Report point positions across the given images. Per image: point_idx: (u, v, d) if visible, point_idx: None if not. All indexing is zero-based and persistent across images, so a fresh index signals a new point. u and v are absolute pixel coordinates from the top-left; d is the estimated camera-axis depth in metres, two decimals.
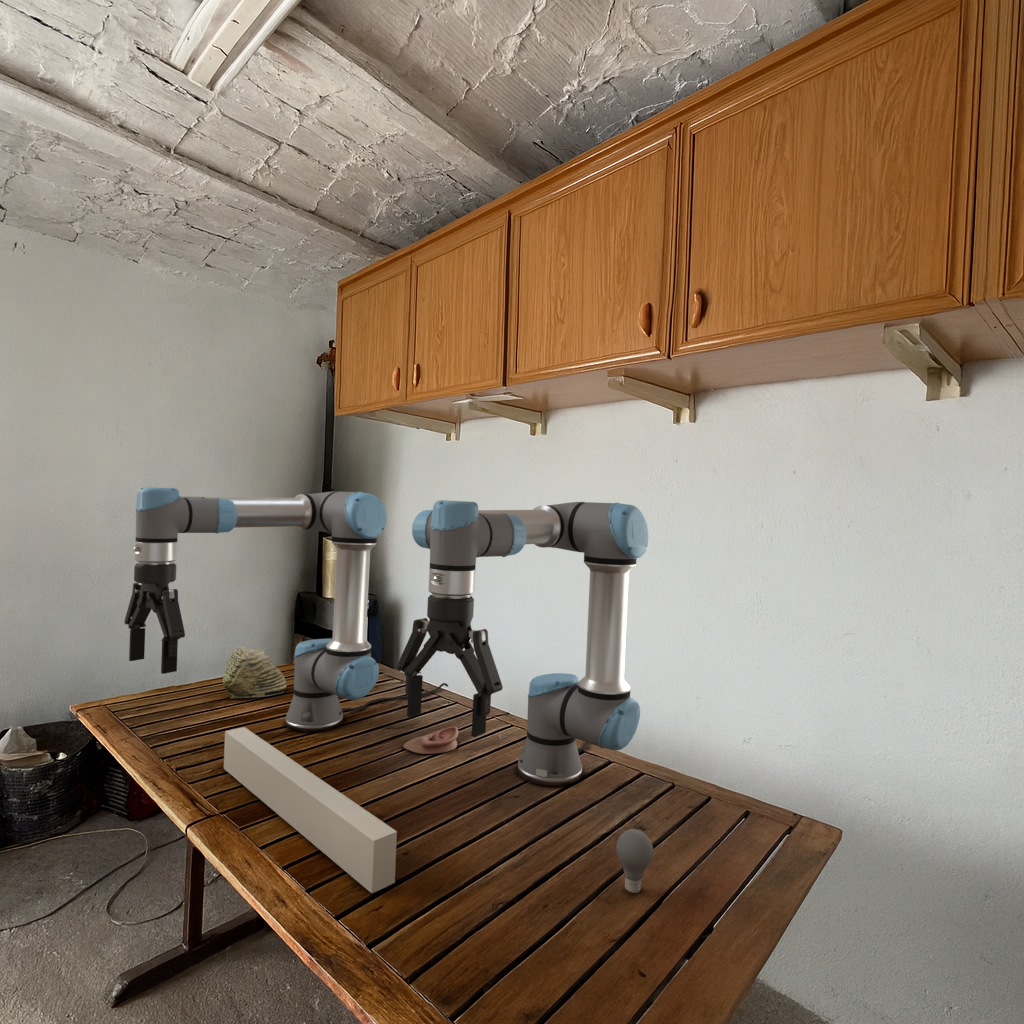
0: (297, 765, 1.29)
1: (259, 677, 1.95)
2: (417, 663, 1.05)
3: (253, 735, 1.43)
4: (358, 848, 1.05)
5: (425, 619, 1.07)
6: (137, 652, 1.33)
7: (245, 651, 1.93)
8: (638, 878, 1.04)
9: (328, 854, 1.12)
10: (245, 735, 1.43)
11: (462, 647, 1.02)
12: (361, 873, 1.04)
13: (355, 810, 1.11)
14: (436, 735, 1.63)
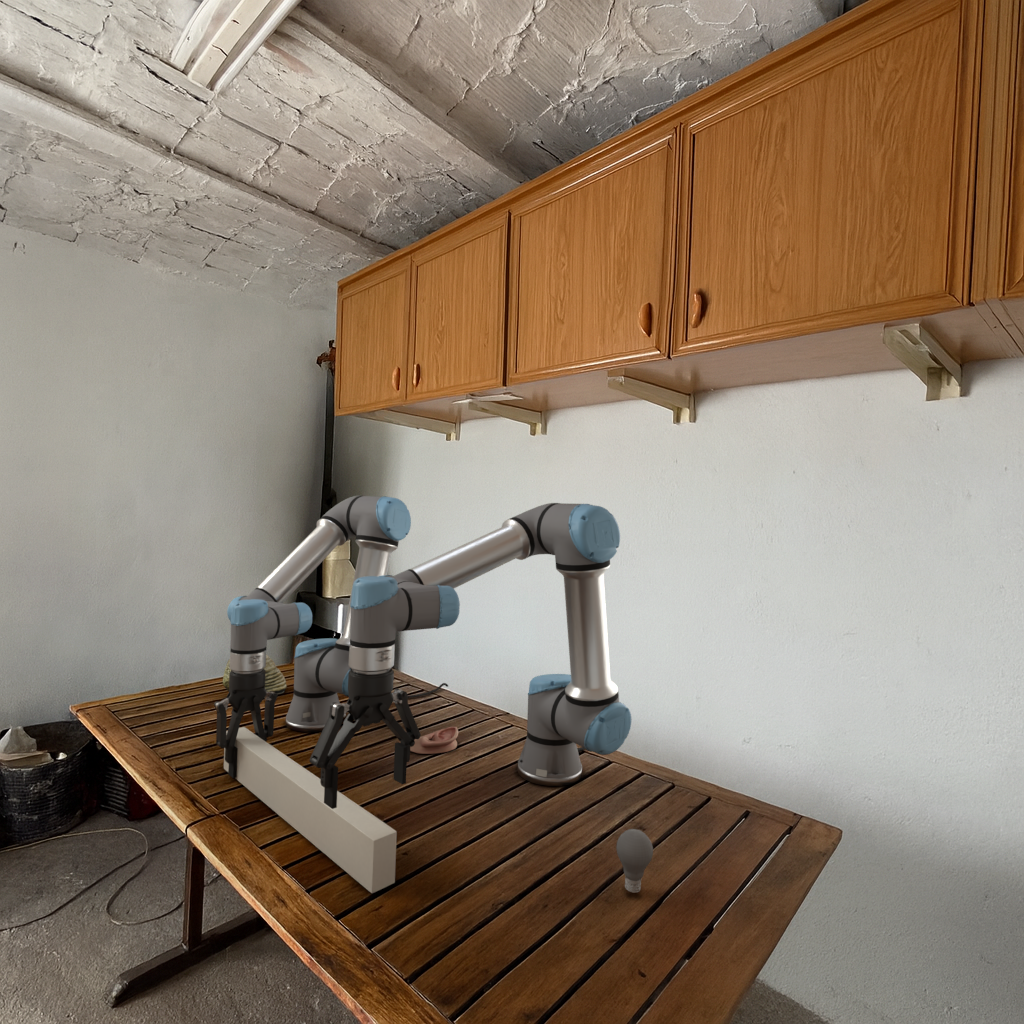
0: (297, 765, 1.29)
1: None
2: (343, 749, 1.03)
3: (253, 735, 1.43)
4: (358, 848, 1.05)
5: (337, 703, 1.04)
6: None
7: None
8: (638, 878, 1.04)
9: (328, 854, 1.12)
10: (245, 735, 1.43)
11: None
12: (361, 873, 1.04)
13: (355, 810, 1.11)
14: (436, 735, 1.63)
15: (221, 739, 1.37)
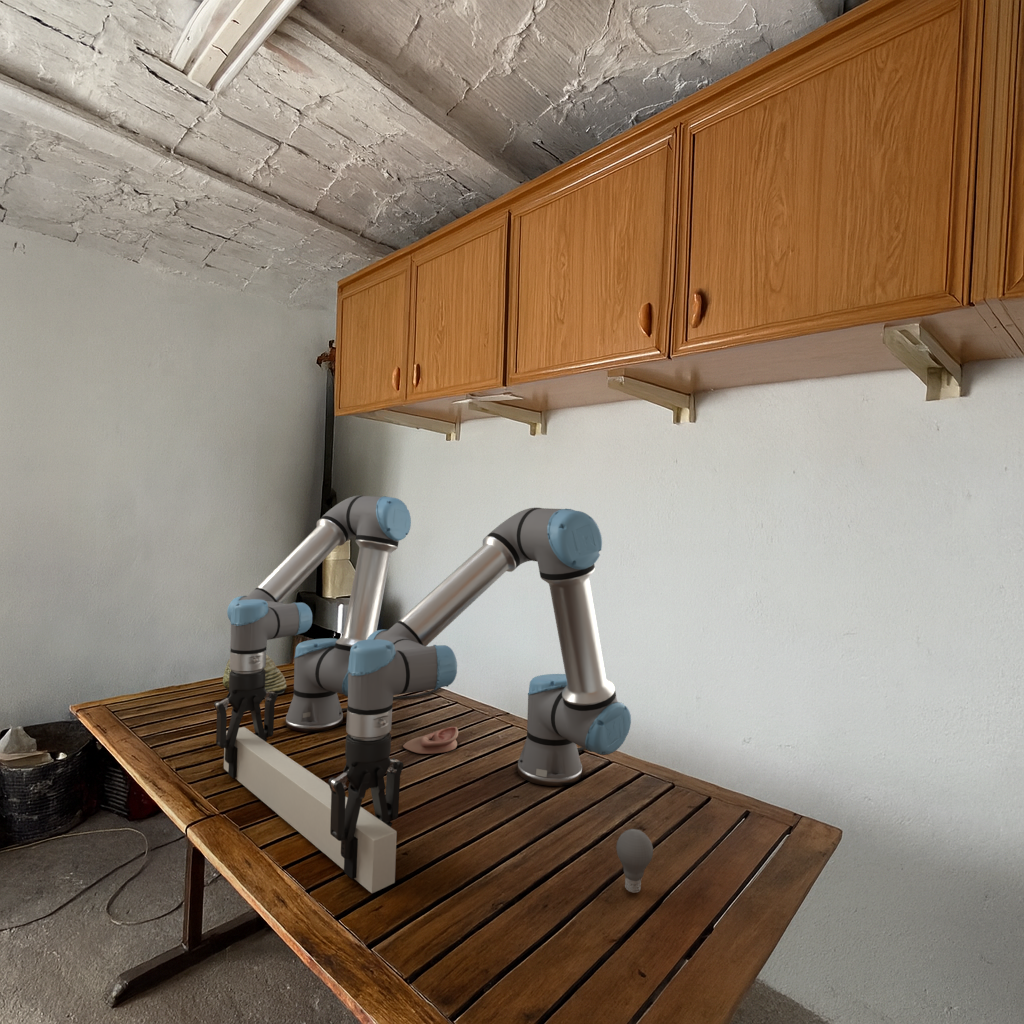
0: (297, 765, 1.29)
1: None
2: (356, 818, 1.05)
3: (253, 735, 1.43)
4: (358, 848, 1.05)
5: (333, 778, 1.04)
6: None
7: None
8: (638, 878, 1.04)
9: (328, 854, 1.12)
10: (245, 735, 1.43)
11: None
12: (361, 873, 1.04)
13: None
14: (436, 735, 1.63)
15: (221, 739, 1.37)
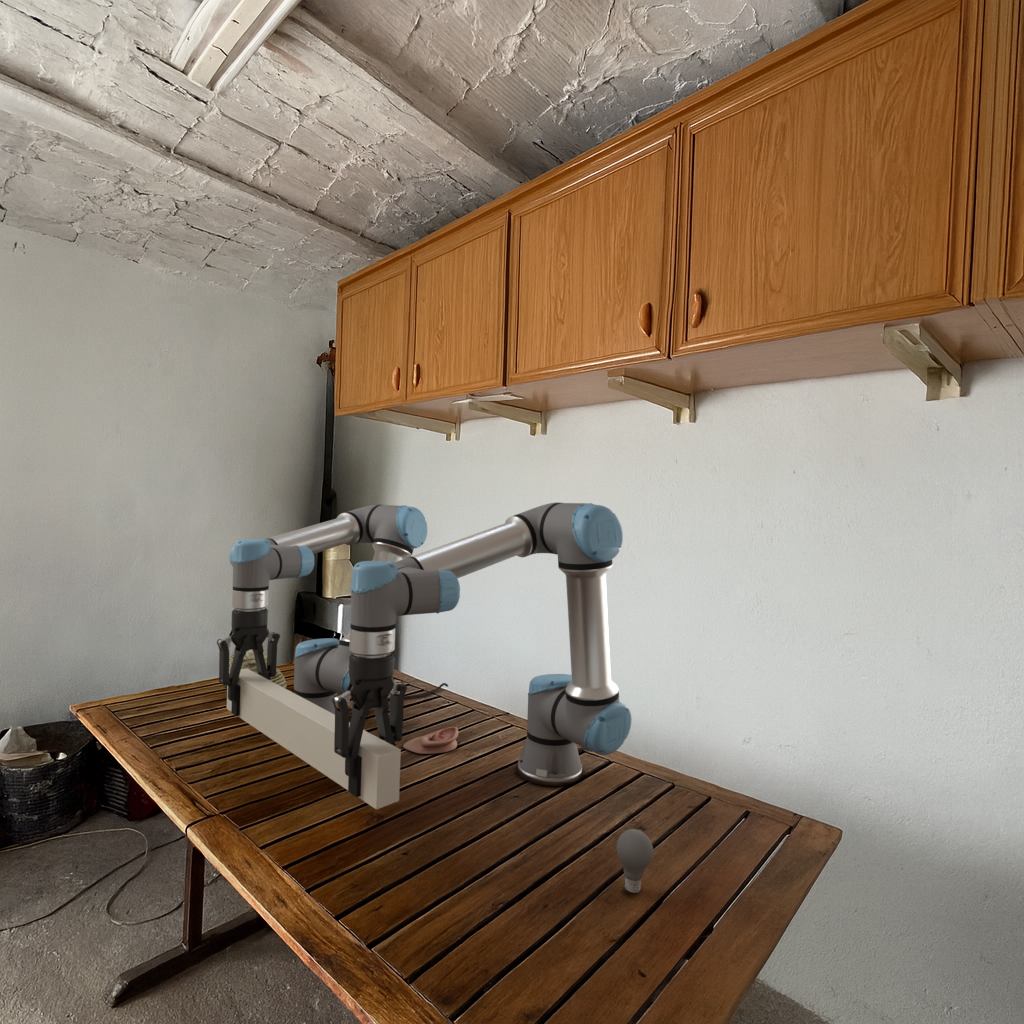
0: (300, 698, 1.28)
1: None
2: (360, 736, 1.05)
3: (256, 674, 1.43)
4: (362, 766, 1.05)
5: (337, 695, 1.04)
6: None
7: None
8: (638, 878, 1.04)
9: (332, 777, 1.12)
10: (248, 674, 1.43)
11: None
12: (365, 791, 1.04)
13: None
14: (436, 735, 1.63)
15: (224, 676, 1.37)
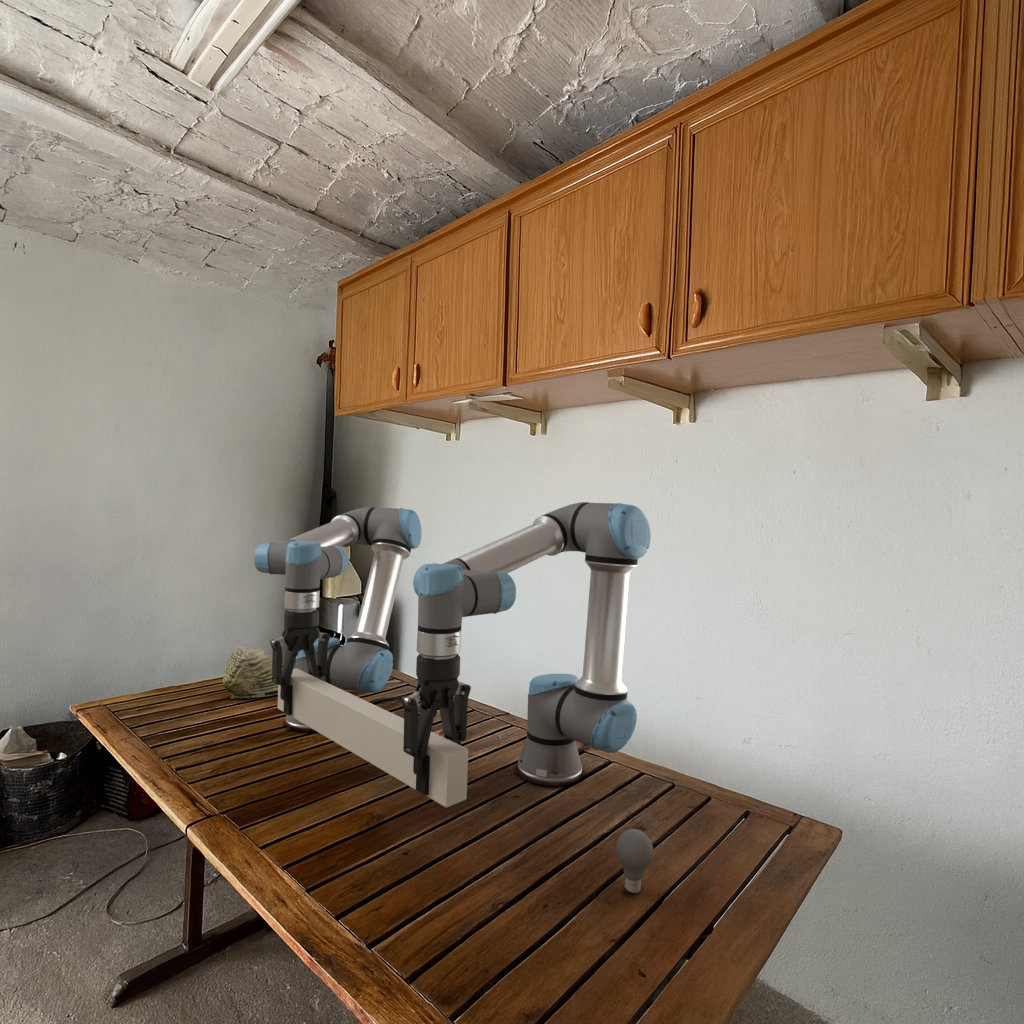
0: (357, 698, 1.30)
1: (259, 677, 1.95)
2: (428, 736, 1.07)
3: (307, 674, 1.45)
4: (430, 765, 1.07)
5: (406, 696, 1.06)
6: None
7: (245, 651, 1.93)
8: (638, 878, 1.04)
9: (397, 776, 1.14)
10: (299, 674, 1.45)
11: None
12: (434, 789, 1.06)
13: None
14: None
15: (277, 676, 1.39)
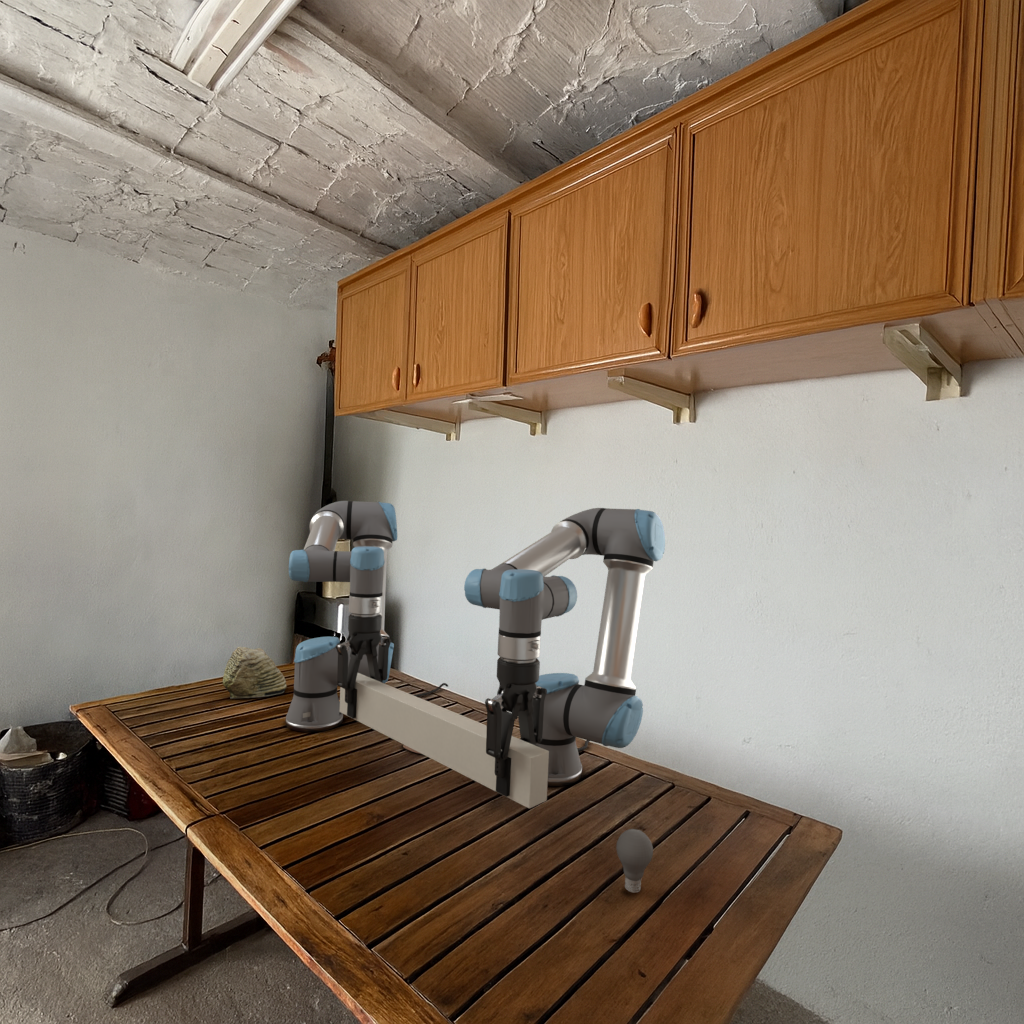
0: (425, 701, 1.33)
1: (259, 677, 1.95)
2: (510, 738, 1.09)
3: (369, 678, 1.47)
4: (511, 767, 1.09)
5: (489, 699, 1.08)
6: None
7: (245, 651, 1.93)
8: (638, 878, 1.04)
9: (474, 778, 1.16)
10: (362, 678, 1.47)
11: None
12: (515, 791, 1.09)
13: None
14: None
15: (343, 679, 1.42)
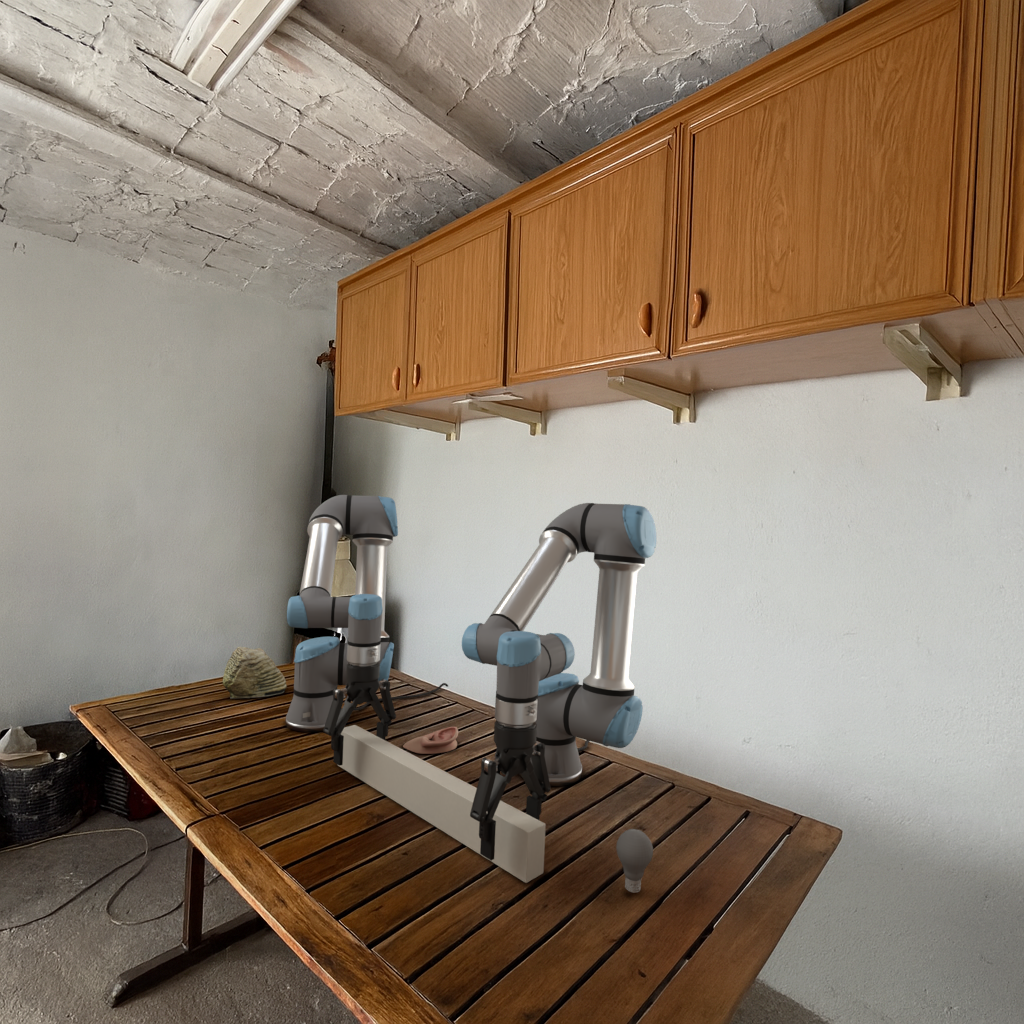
0: (423, 761, 1.33)
1: (259, 677, 1.95)
2: (498, 802, 1.08)
3: (367, 733, 1.48)
4: (508, 840, 1.10)
5: None
6: None
7: (245, 651, 1.93)
8: (638, 878, 1.04)
9: (471, 846, 1.16)
10: (359, 732, 1.48)
11: None
12: (512, 864, 1.09)
13: None
14: (436, 735, 1.63)
15: (331, 726, 1.40)
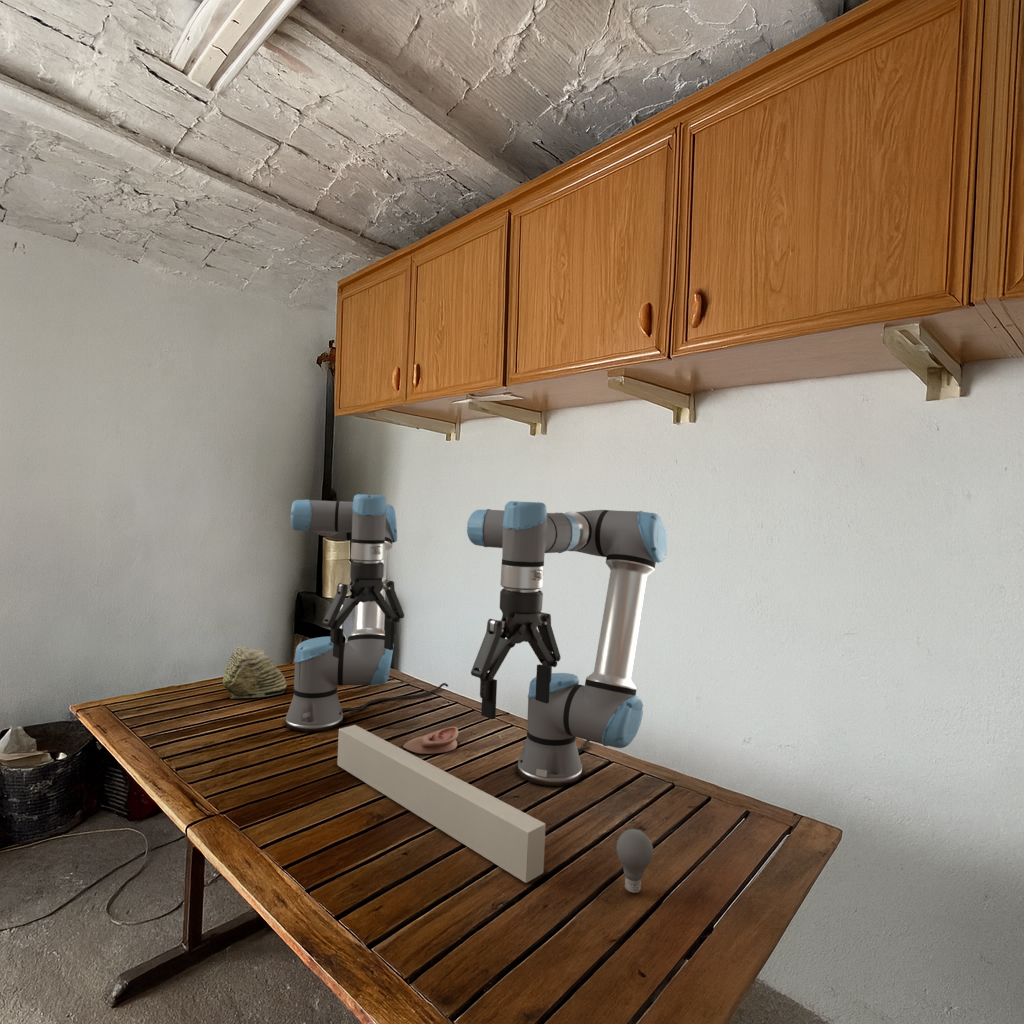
0: (423, 761, 1.33)
1: (259, 677, 1.95)
2: (500, 663, 1.07)
3: (367, 733, 1.48)
4: (508, 840, 1.10)
5: None
6: None
7: (245, 651, 1.93)
8: (638, 878, 1.04)
9: (471, 846, 1.16)
10: (359, 732, 1.48)
11: None
12: (512, 864, 1.09)
13: (497, 804, 1.16)
14: (436, 735, 1.63)
15: (331, 617, 1.39)
